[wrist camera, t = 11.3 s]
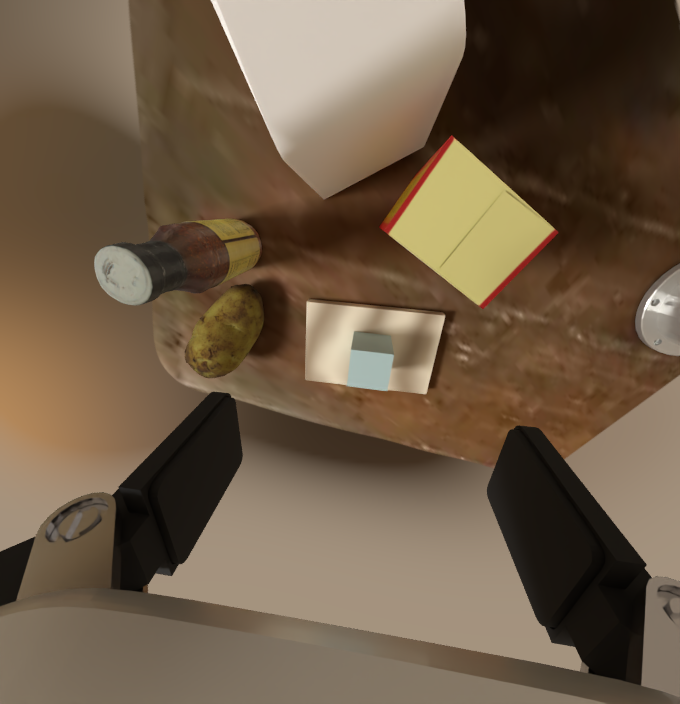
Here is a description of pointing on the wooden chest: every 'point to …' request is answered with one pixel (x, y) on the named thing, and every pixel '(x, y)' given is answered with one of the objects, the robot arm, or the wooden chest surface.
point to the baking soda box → (467, 224)
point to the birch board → (401, 324)
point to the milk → (346, 78)
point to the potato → (226, 332)
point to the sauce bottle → (178, 260)
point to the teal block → (370, 361)
